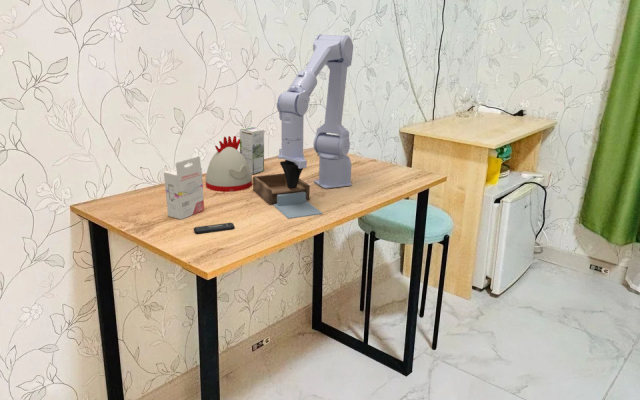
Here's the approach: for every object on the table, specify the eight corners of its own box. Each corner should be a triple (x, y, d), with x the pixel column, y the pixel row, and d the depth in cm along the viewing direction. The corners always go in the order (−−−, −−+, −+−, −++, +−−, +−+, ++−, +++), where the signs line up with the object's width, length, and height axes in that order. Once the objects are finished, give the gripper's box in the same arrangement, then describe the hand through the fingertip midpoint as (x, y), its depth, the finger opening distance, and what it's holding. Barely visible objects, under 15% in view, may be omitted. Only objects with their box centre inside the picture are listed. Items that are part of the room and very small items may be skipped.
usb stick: (195, 236, 121) (194, 230, 120) (193, 232, 123) (192, 226, 123) (235, 230, 124) (235, 224, 124) (232, 227, 127) (232, 221, 126)
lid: (273, 207, 141) (273, 194, 140) (305, 202, 145) (305, 190, 144) (288, 220, 132) (288, 207, 131) (322, 215, 136) (322, 202, 135)
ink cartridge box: (191, 206, 139) (187, 153, 134) (204, 210, 136) (201, 155, 131) (166, 216, 132) (162, 159, 127) (180, 220, 129) (176, 163, 125)
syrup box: (251, 168, 176) (250, 126, 171) (264, 171, 172) (264, 128, 168) (239, 172, 171) (238, 128, 167) (253, 175, 168) (252, 131, 163)
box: (253, 190, 153) (252, 176, 152) (290, 185, 158) (290, 172, 157) (269, 204, 141) (269, 190, 140) (309, 199, 146) (309, 185, 145)
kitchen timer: (260, 186, 157) (259, 137, 152) (220, 194, 149) (217, 143, 144) (237, 175, 167) (235, 129, 162) (197, 183, 159) (195, 135, 154)
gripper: (268, 133, 141) (269, 181, 145) (288, 145, 128) (288, 197, 133) (292, 132, 144) (292, 179, 148) (314, 143, 131) (313, 194, 136)
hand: (292, 187), depth 141 cm, fingers closed
